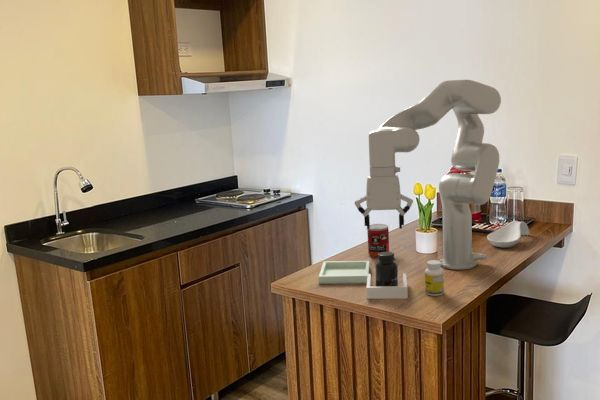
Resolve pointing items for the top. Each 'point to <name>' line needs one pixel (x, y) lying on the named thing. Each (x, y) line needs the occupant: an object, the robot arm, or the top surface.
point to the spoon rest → (508, 234)
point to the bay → (387, 290)
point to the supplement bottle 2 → (434, 278)
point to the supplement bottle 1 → (386, 270)
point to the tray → (344, 272)
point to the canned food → (378, 239)
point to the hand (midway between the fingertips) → (384, 227)
